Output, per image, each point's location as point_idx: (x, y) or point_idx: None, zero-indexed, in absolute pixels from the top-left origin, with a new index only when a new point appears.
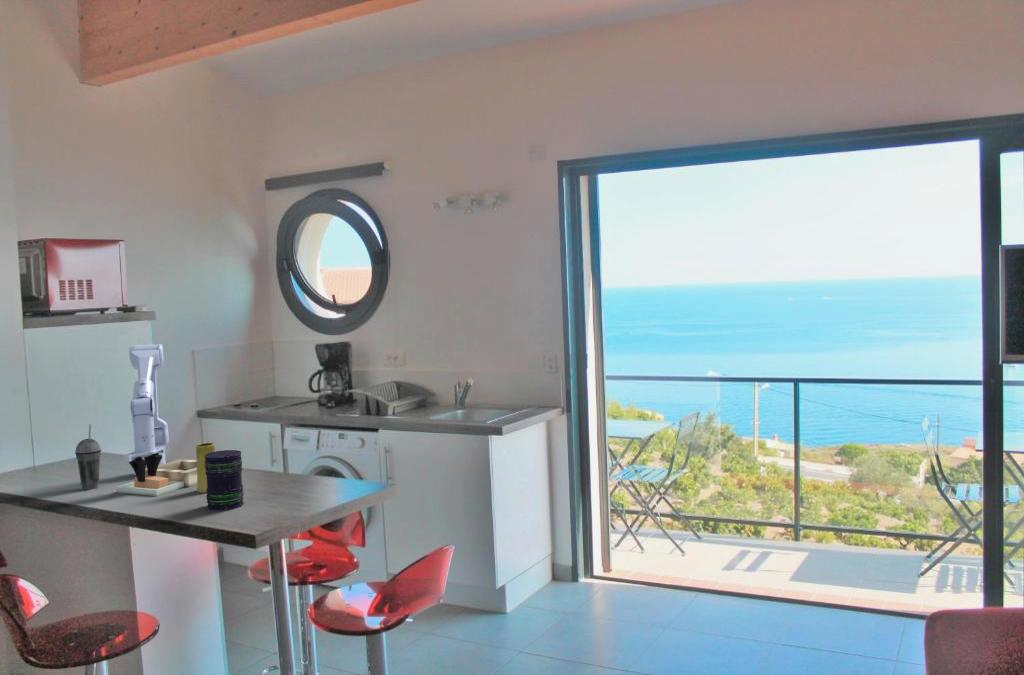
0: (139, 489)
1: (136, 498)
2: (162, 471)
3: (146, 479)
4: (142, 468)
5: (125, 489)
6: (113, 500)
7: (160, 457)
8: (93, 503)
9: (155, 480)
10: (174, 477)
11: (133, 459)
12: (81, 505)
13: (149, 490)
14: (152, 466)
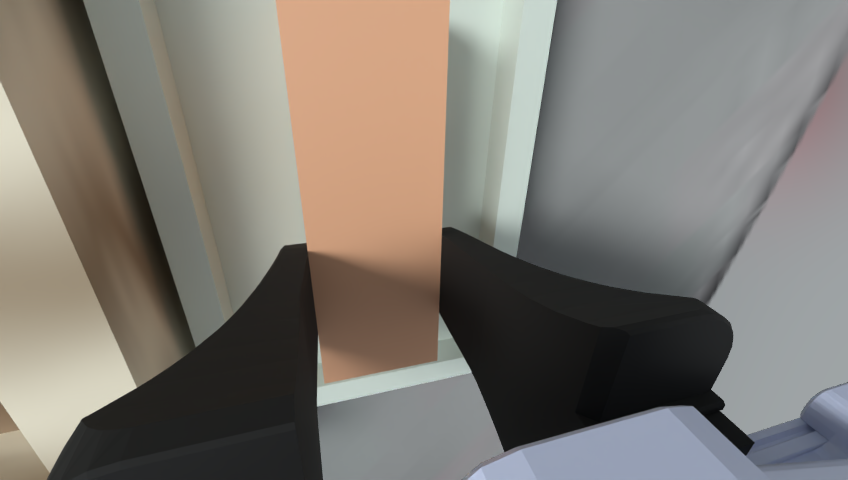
0: (528, 154)
1: (607, 65)
2: (110, 317)
3: (439, 217)
4: (573, 278)
5: None
6: (648, 190)
7: (161, 414)
8: (697, 241)
9: (446, 73)
10: (58, 74)
11: (750, 450)
12: (724, 262)
13: (548, 17)
14: (307, 357)
